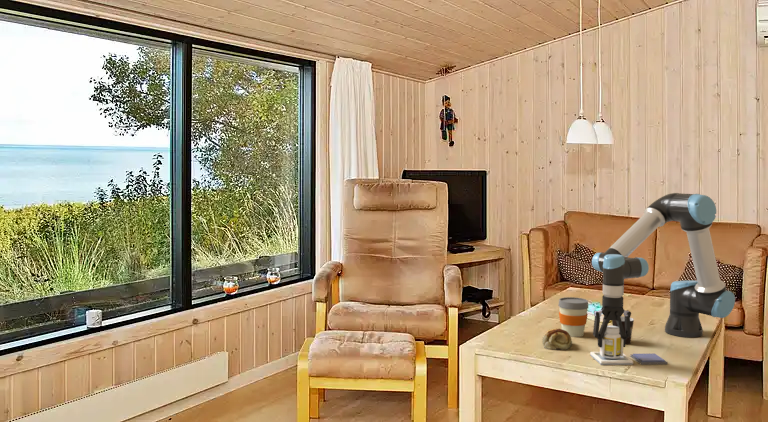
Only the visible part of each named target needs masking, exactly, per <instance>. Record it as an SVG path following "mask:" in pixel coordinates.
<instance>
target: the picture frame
mask: <svg viewBox="0 0 768 422" xmlns="http://www.w3.org/2000/svg"><path fill="white" fill-rule="evenodd" d="M589 354H590V355H589V356H591V358H592V359H594V360H595V361H596V362H597V363H598V364H600V366H615V365H617V366H626V365H627V366H629V365H630V366H631V365H632V366H633V365H634V359H631V357H630V356H627V355H626V354H625V353H623V356H620V358H616V359H611V358H606V357H602V356H601V355H600V351H590V352H589Z"/></svg>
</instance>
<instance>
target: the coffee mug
mask: <svg viewBox="0 0 768 422" xmlns="http://www.w3.org/2000/svg"><path fill="white" fill-rule="evenodd" d="M621 321H622V325H623V328H624V331H625V319H624V315H622V316H621ZM634 321H635V320H634V318H633V317H630V326H631V337H628V338H627V339H626V345H630V344H631V341H632V340H631V339H632V334H633V329H634V328H633V327H634V323H635V322H634ZM611 322H612V325H611V326H617V323H616V320H611ZM617 327H618V326H617ZM619 334H620V332H619Z"/></svg>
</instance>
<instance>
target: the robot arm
mask: <svg viewBox="0 0 768 422" xmlns="http://www.w3.org/2000/svg"><path fill="white" fill-rule="evenodd" d="M643 211H644V212H643V215H641V216H640V217H639V218H638V219H637V220H636V222H634V223H633V224H632V225H631V227H630V228H628V229H627V230H626V231H625V232H624V233H623V234H622V235H621V236H620V237H619V238H617V240H616V241H614V242H613V244H612V245H611V246H610V247H609V248H608V249H607V250H606V251H605V252H596V253H595V254H594V255H593V256H592V260H591V266H592V267H593V269H594V270H596V271H599V272H601V273H602V297H601V298H602V299H601V305H602V307H601V309H600V310H594V311H593V315H594V322H593V331H592V335H593V337H594V338H596V339H597V346H598V347H599V352H600V355H601V356H602V357H604V351H605V339H603V336H604V334H605V331H606V328H607V326H609V323H610V321H612V320H616V323H617V326H618V327H619V332H620V335H621V353H620V356H623V354H624V348H625V347H626V345H627V344H626V339H627V338H628V337H631V338H632V335H631V326H630V318H631V316H632V311H630V310H625V308H624V297H623V296H624V294H625V293H624V292H625V291H624V290H625V289H624V287H625V280H627V279H635V278H636V279H639V278H642V277H645V276H646V275H647V274H648V272H649V270H650V269H649V268H650V267H649V263H648V262H647V260H646V259H645V258H643V257H636V256H635V257H629V256H630V255H631V254H632V253H634V251H636V249H637V248H638V247H640V245H641V244H643V243H644V242H645V241H646V240H647V239H648V237H650V236H651V234H653V233H654V232H655V231H656V230H657V229H658V227H659V228H660V227H664V226H665V224H666V223H668V222H679V224H680V229H681V230H682V231H684V232H686V233H685V234H686V236H687V242H688V247H689V250H690V255H691V259H692V264H693V268H694V272H695V277H696V280H675V281H672V282H671V284H670V290H669V292H670V293H669V316H668V317H667V320H666V323H665V326H664V332H665V334H668V335H670V336H676V337H682V338H699V337H702V336H703V335H704V334H703V331H704V330H703V326H702V323H701V320H700V314H702V315H705V316H710V317H713V318H719V319H723V318H726V317H728V316H729V315H730V314H731V313H732V311H733V309H734V308H735V304H736V297H735V294H734V293H733V292H732V291H730V290H727V286H726V282H725V281H723V280H721V276H720V272H719V268H718V264H717V263H718V262H717V259H716V255H715V250H714V244H713V240H712V235H711V232H710V228H711V227H712V225H713V222H715V219H716V217H717V216H716V214H717V206H716V203H715V201H714V200H713V199H712V198H711V197H710V196H708V195H706V194H700V193H679V192H673V193H668V194H665V195H663V196H661V197H659V198H658V199H656V200H655V201H653V202H652V203H650V204H649V205H648V206H647V207H646V208H645V209H644V210H643ZM602 315H603V318H602V323H601V317H602ZM621 316H624V319H625V331H624V328H623V325H622V321H621ZM600 323H601V326H600Z"/></svg>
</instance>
